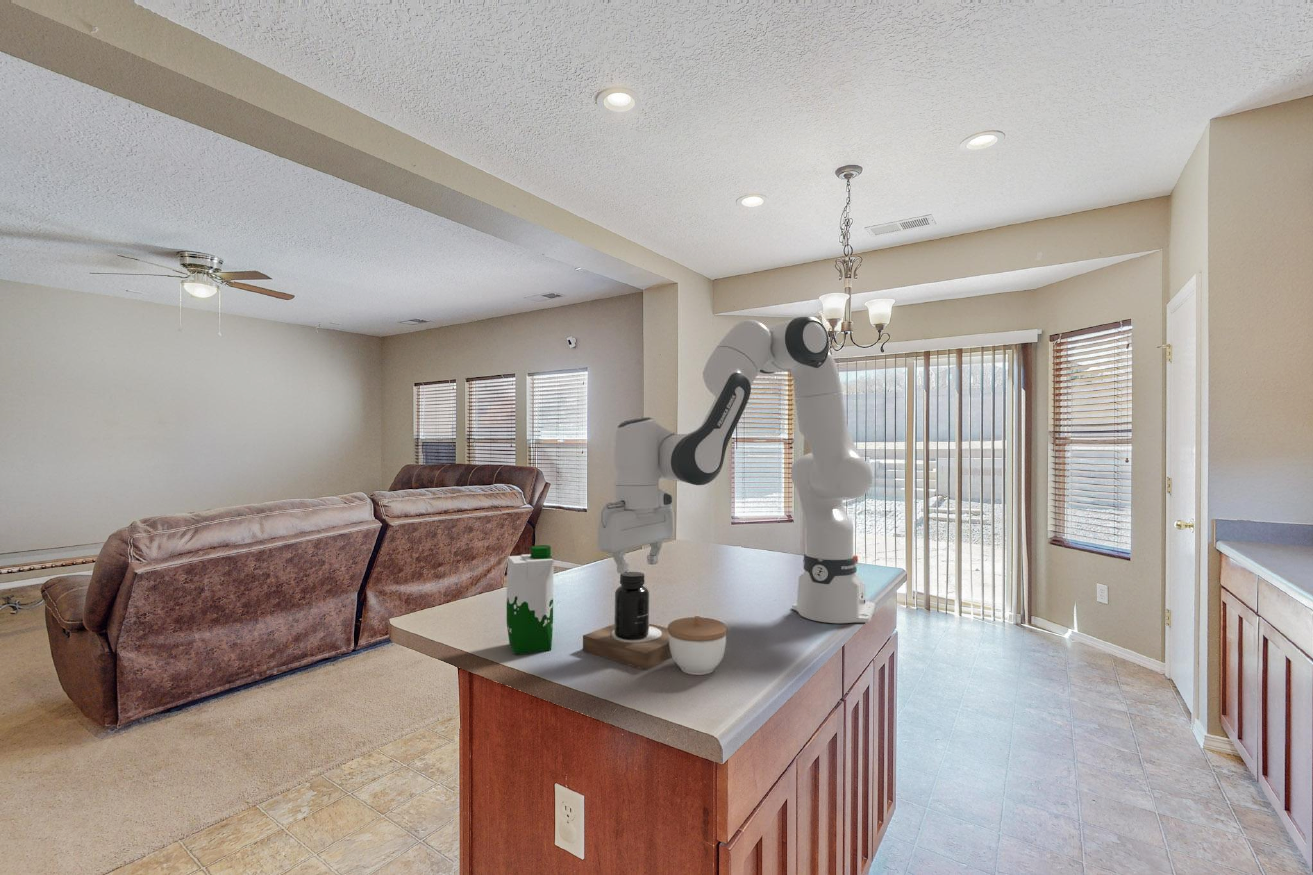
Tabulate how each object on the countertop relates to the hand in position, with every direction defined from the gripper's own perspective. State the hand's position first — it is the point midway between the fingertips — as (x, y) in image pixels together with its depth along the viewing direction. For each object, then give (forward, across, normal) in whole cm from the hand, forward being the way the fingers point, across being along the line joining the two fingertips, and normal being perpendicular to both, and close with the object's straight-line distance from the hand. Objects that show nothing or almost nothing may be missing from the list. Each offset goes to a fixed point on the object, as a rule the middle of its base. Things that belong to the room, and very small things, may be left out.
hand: (638, 568), depth 113 cm
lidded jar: (+16, -1, -14) cm, 22 cm away
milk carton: (+16, -12, +18) cm, 27 cm away
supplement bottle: (+13, -2, 0) cm, 13 cm away
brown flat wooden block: (+16, 0, 0) cm, 16 cm away
